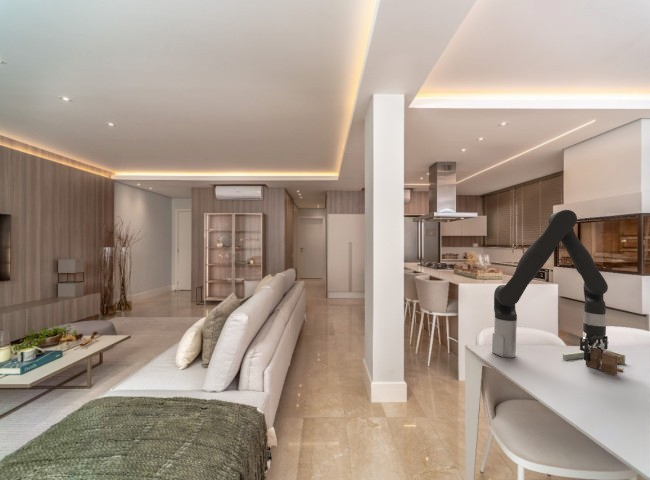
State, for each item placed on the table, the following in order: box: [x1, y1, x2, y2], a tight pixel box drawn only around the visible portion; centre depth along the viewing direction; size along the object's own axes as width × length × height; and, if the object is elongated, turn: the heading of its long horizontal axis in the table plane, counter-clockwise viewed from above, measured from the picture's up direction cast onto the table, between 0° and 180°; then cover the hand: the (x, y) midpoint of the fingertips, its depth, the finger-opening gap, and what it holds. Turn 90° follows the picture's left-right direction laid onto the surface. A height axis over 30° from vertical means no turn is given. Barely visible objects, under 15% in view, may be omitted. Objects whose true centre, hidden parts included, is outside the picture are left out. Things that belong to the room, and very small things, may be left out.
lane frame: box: [562, 349, 626, 365], centre depth 142 cm, size 24×11×4 cm, turn 108°
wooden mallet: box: [585, 348, 622, 370], centre depth 141 cm, size 20×10×8 cm, turn 108°
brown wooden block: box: [600, 352, 624, 376], centre depth 130 cm, size 10×4×8 cm, turn 108°
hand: (593, 359), depth 135 cm, fingers open, 8 cm apart
